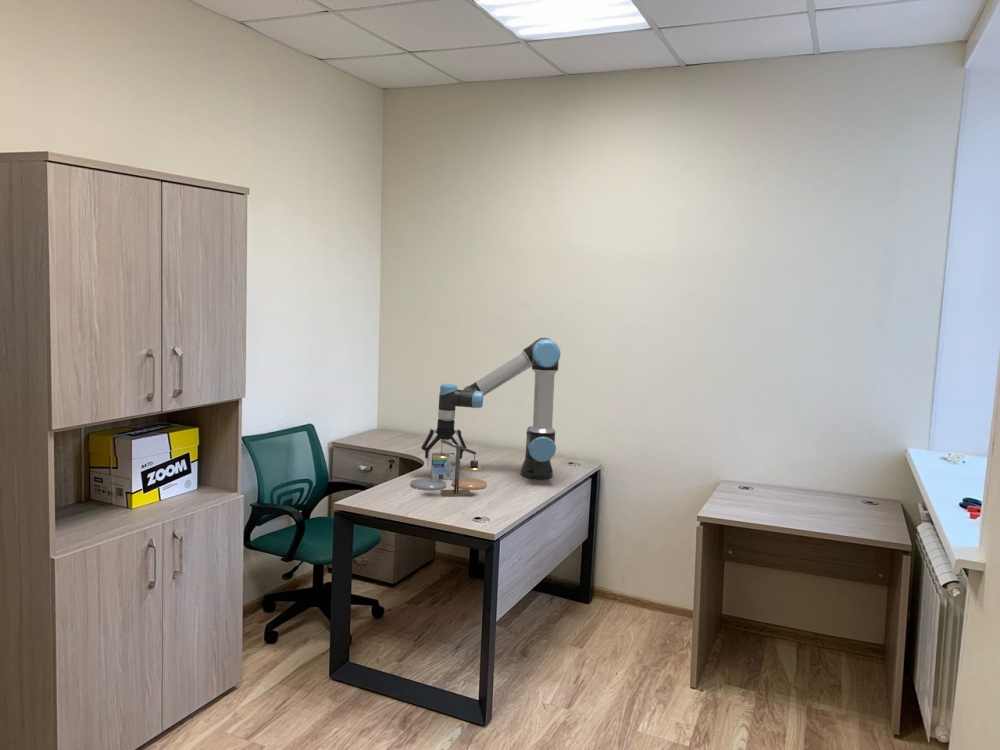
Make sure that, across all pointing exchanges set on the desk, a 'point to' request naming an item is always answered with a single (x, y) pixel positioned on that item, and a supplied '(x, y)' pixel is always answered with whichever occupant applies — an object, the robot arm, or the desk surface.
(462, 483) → the terracotta dish
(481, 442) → the desk surface
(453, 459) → the light bulb box
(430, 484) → the slate dish
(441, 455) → the balance
